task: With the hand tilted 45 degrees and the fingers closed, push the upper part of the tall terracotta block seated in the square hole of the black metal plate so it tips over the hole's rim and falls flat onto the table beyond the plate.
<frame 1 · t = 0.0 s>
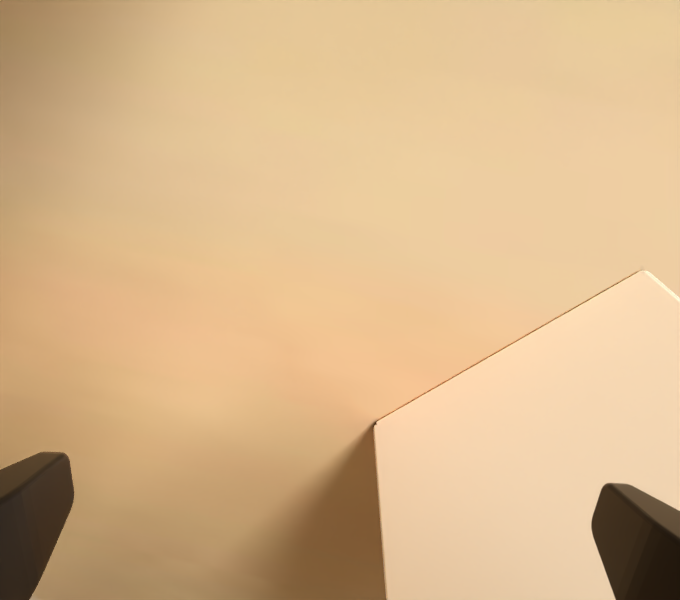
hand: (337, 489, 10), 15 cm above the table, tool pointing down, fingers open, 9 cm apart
gable box: (606, 504, 30), on the table
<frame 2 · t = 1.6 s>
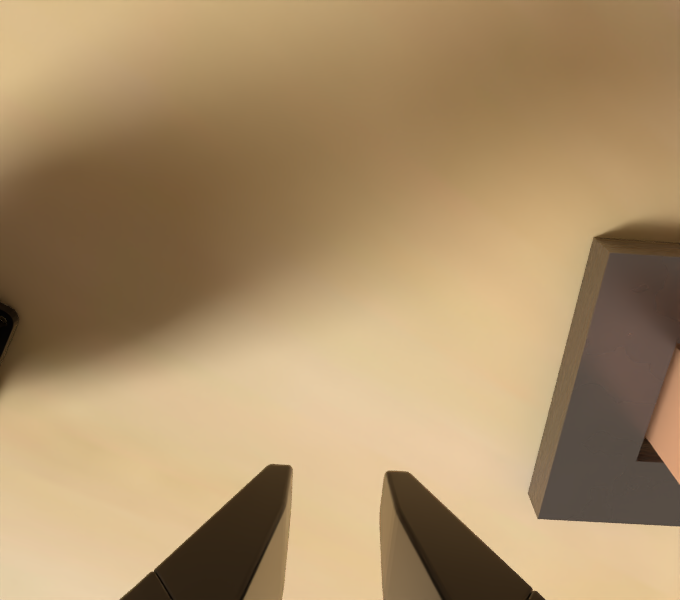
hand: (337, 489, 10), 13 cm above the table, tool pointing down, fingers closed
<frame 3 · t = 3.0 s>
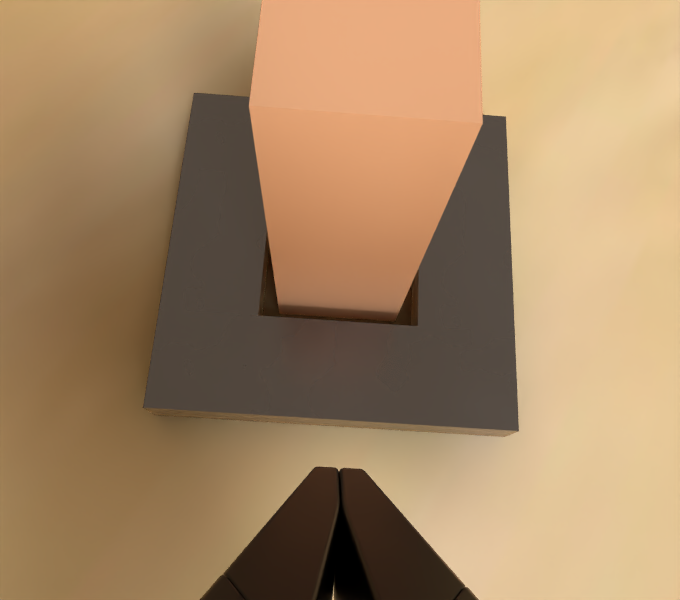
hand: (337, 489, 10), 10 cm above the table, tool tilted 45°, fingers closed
plate: (340, 264, 23), on the table
block: (350, 182, 17), in the plate
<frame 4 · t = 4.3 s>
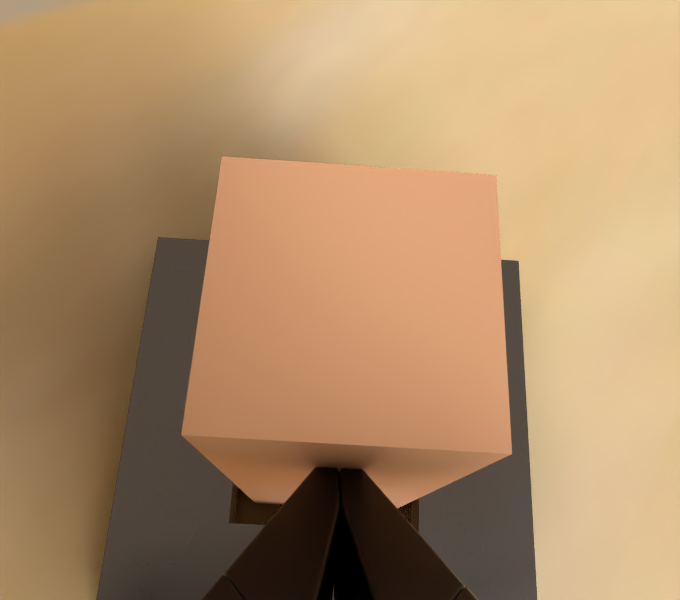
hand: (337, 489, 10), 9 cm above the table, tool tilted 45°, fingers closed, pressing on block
plate: (328, 438, 20), on the table
block: (336, 393, 14), in the plate, touching gripper
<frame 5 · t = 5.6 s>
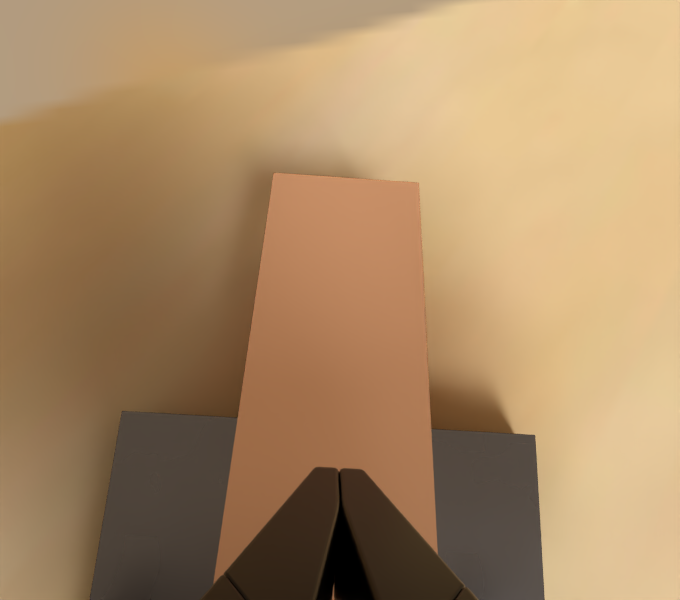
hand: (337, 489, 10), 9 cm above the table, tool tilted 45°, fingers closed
block: (333, 398, 16), on the table, tilted 106°, touching plate
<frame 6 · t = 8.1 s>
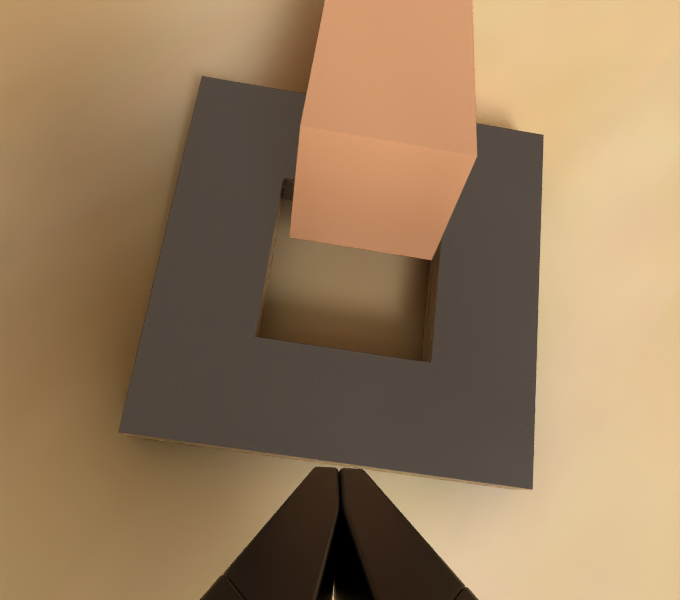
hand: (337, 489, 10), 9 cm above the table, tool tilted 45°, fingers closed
plate: (349, 282, 21), on the table
block: (386, 58, 19), on the table, tilted 105°, touching plate
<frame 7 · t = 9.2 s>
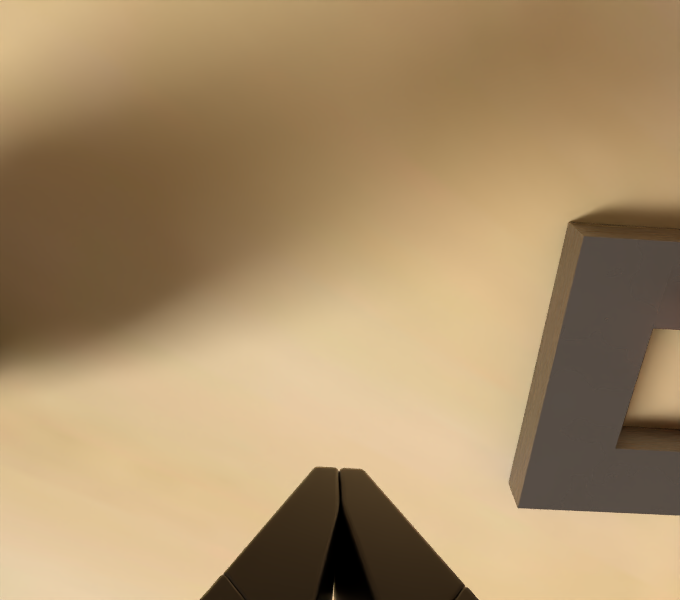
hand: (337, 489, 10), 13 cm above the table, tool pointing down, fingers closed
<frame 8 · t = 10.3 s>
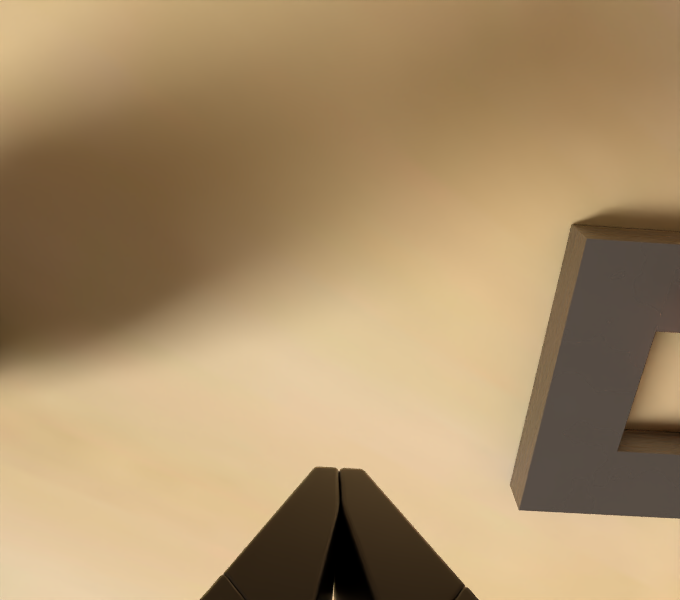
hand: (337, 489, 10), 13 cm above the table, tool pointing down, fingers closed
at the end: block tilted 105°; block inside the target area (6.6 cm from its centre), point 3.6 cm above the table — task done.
